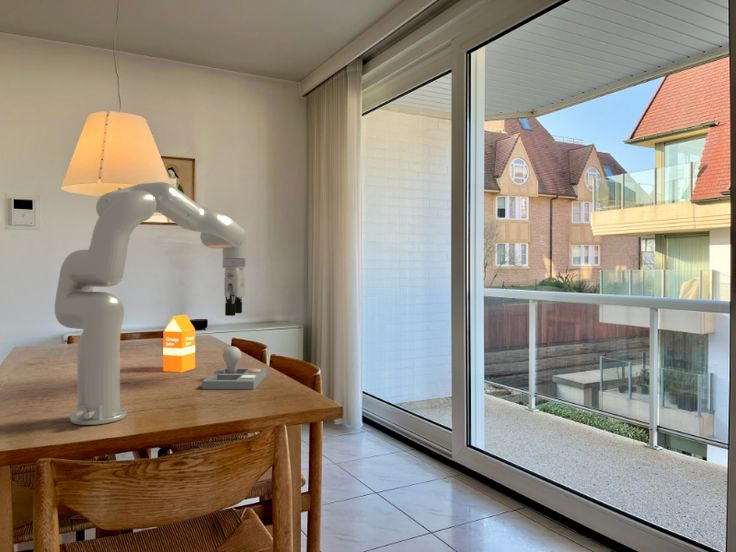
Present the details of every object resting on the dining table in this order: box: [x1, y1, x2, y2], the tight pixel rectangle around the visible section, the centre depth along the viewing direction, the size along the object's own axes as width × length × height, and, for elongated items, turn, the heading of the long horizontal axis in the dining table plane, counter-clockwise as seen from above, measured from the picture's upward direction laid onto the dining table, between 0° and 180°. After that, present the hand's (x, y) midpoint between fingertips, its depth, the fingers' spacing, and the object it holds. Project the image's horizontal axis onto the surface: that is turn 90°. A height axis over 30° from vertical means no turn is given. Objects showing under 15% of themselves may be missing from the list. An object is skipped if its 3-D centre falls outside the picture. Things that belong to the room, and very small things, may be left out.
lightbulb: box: [222, 346, 242, 374], centre depth 181 cm, size 6×6×11 cm
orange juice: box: [162, 314, 196, 373], centre depth 197 cm, size 8×9×20 cm
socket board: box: [201, 367, 268, 391], centre depth 177 cm, size 22×16×3 cm
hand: (233, 314), depth 181 cm, fingers open, 9 cm apart
